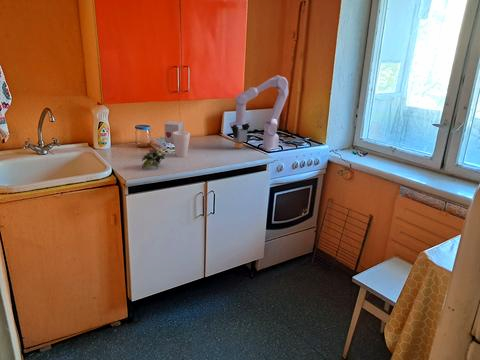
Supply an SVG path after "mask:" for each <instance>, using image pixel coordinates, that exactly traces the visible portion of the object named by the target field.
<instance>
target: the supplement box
mask: <svg viewBox="0 0 480 360" xmlns="http://www.w3.org/2000/svg"><path fill="white" fill-rule="evenodd" d="M175 131H185V130H184V121H175V120H169V121H167V122H165V123H164V143H165V142H166V143H171V144H174V139H173V132H175Z"/></svg>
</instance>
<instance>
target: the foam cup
mask: <svg viewBox="0 0 480 360" xmlns="http://www.w3.org/2000/svg"><path fill="white" fill-rule="evenodd" d="M190 135H191V132H189V131H187V130H184V131H175V132H173V139H174V146H175V149H174V152H175V156H176V157H178V158H185V157H187V156H188V151H189V143H190V137H191V136H190Z"/></svg>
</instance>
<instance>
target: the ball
mask: <svg viewBox="0 0 480 360" xmlns="http://www.w3.org/2000/svg"><path fill="white" fill-rule="evenodd" d="M243 142H244V141H243ZM243 142H237V141H235V143H234V146H235V148H236V149H237V150H238V149H242V148H243V147H244V143H243Z"/></svg>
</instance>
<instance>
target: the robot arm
mask: <svg viewBox="0 0 480 360" xmlns="http://www.w3.org/2000/svg"><path fill="white" fill-rule="evenodd" d="M271 87H272V88H276V89H277V91H278V96H277V98H276V100H275V103H274V105H273V108H272V110H271V113H270V116H269V118H267V120H266V121H265V123H264V124H263V126H262V128H263V130H264V132H263V138H262V139H263V141H262V145H261V146H259V148H261V149H264V150H267V151H269V150H277V149H280V147H279V141H280V137H279V135H278V133H277V131H278V128H277V127H278V124H279V123H278V120H279V118H280V115H281V113H282V110H283V108H284V106H285V103H286V100H287V98H288V97H289V82H288V80H287V78H286V77H284V76H281V75H279V74H277V75H275V76H273V77H271V78H269V79H267V80H266V81H265V82H263V83H261V84H259V85H258V86H256V87H254V86H253V87H249V88H248V89H247V90H246V91H242V92H241V93H239V94H237V95H236V97H235V102H236V106H235V120H234V121H232V122H229V127H230V129H231V131H232V136H233V135H234V137H235V138H237V132H238V129H240V128H239V127H238V126H241V129H244V130H247V131H248V130H249V129H250V127H251V126H250V125H251V123H252V122H251V120H246V114H247V113H246V110H247V107H246V106H247V105H246V104H247V103H248V102H249V101H251V100H252V99H254V98H256V97H258V95H259V93H260V92H263V91H265V90H266V89H269V88H271Z"/></svg>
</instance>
